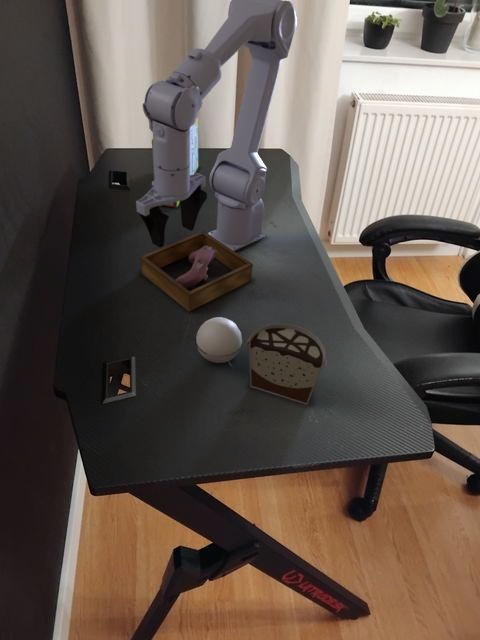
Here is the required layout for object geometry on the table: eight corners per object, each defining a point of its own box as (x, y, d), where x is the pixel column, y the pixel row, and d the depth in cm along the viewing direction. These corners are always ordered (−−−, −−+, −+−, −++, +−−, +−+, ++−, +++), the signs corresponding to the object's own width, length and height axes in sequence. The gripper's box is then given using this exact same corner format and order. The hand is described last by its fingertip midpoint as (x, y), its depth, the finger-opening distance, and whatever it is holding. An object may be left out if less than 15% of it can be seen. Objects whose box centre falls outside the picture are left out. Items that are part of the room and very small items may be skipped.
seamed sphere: (192, 342, 95) (193, 308, 90) (236, 340, 96) (239, 306, 91) (199, 386, 88) (199, 352, 83) (246, 383, 89) (250, 349, 84)
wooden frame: (203, 247, 116) (203, 230, 113) (251, 280, 109) (253, 263, 106) (141, 273, 107) (139, 256, 104) (189, 311, 100) (189, 294, 98)
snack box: (177, 164, 141) (176, 102, 131) (199, 167, 141) (200, 105, 131) (153, 205, 126) (150, 138, 116) (178, 209, 126) (177, 142, 115)
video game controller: (192, 299, 105) (210, 275, 101) (171, 286, 104) (188, 261, 100) (207, 270, 113) (224, 246, 108) (187, 257, 111) (203, 233, 107)
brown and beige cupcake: (326, 381, 91) (337, 335, 84) (316, 408, 87) (327, 361, 80) (254, 359, 93) (259, 312, 86) (241, 384, 89) (245, 336, 82)
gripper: (184, 142, 97) (184, 213, 106) (120, 168, 88) (126, 243, 97) (216, 156, 94) (213, 227, 103) (153, 184, 85) (156, 259, 94)
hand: (173, 236), depth 100 cm, fingers open, 7 cm apart
